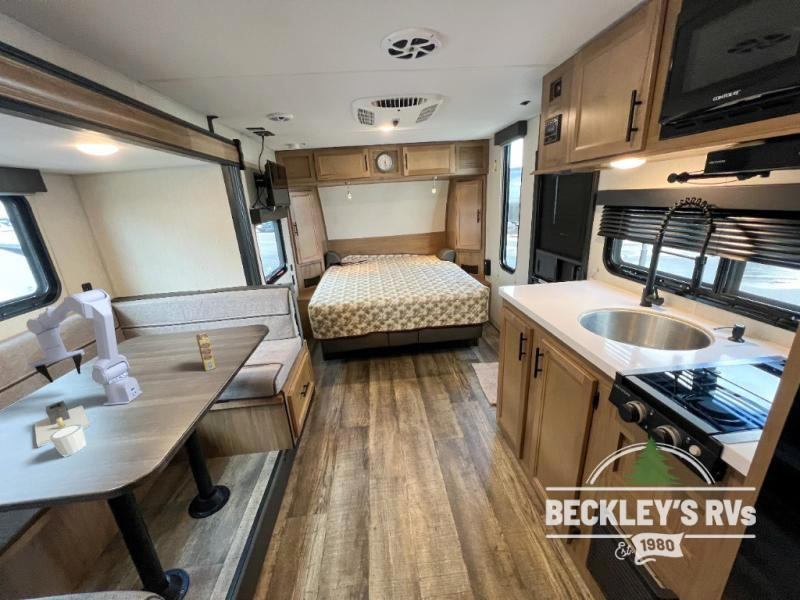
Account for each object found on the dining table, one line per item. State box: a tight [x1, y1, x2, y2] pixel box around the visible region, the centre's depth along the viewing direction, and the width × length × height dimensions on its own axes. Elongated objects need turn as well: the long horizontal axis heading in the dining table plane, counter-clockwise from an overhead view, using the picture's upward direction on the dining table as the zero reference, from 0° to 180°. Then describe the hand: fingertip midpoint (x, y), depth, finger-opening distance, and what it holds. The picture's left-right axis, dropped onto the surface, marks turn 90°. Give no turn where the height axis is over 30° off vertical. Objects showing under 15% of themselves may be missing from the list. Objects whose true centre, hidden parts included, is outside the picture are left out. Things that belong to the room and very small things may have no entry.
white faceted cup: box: [50, 424, 87, 456], centre depth 94 cm, size 7×7×7 cm
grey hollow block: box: [45, 400, 70, 425], centre depth 109 cm, size 6×4×5 cm
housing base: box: [34, 405, 91, 448], centre depth 107 cm, size 18×12×5 cm, turn 51°
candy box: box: [195, 332, 216, 371], centre depth 142 cm, size 9×4×15 cm, turn 39°
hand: (65, 377), depth 122 cm, fingers open, 7 cm apart
